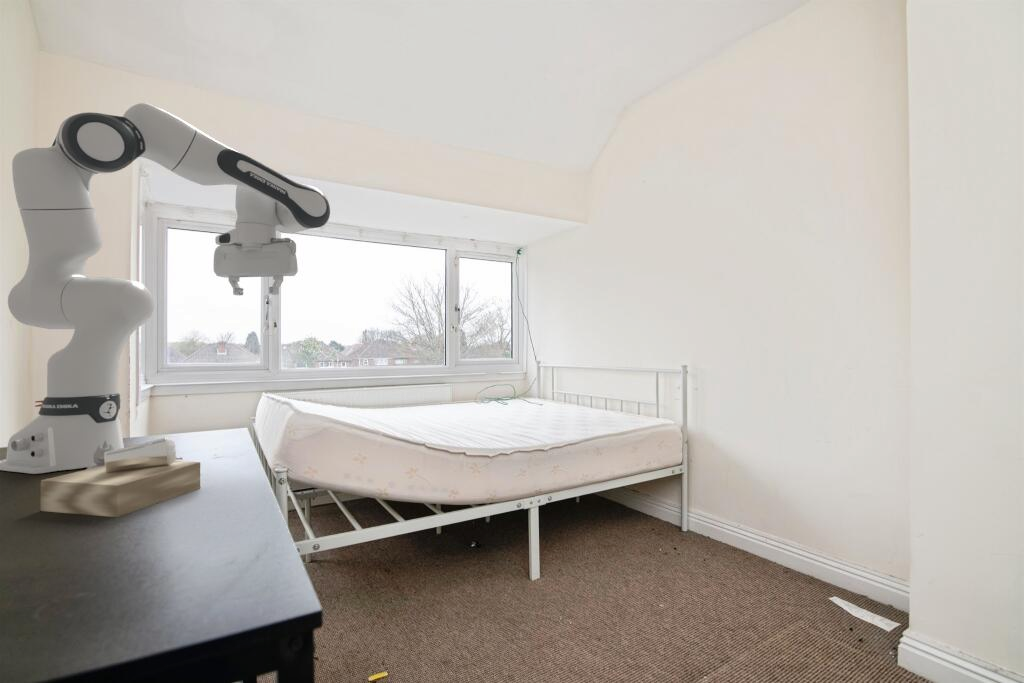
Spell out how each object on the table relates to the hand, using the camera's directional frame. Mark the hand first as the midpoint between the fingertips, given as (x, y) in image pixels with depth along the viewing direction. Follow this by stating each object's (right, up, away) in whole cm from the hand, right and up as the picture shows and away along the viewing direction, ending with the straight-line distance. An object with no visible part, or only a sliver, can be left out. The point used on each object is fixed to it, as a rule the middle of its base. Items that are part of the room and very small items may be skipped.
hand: (256, 294), depth 118 cm
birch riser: (+2, -37, -42) cm, 56 cm away
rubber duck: (-9, -37, -34) cm, 51 cm away
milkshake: (-1, -31, -43) cm, 53 cm away
